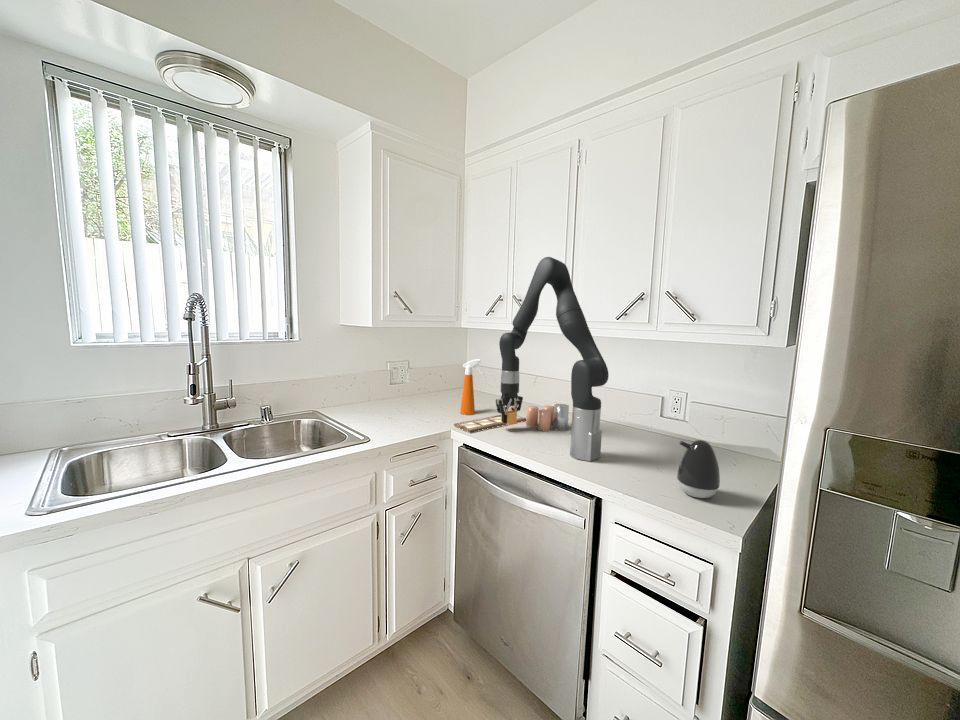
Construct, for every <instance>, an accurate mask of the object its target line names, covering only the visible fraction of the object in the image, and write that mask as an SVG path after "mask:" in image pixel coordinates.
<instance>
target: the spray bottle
mask: <svg viewBox="0 0 960 720" xmlns="http://www.w3.org/2000/svg"><path fill="white" fill-rule="evenodd" d="M481 362H482V359H481V358H478V359H477V358H476V359H475V358H474V359H472V360H469V361H467V362H465V363H464V364H462V367H463V368H465V370H464V375H463V376H464V378H463V384H462V385H463V386H462V393H461V394H462V395H461V402H460V411H459V412H460V414H462V415H464V414H465V416H467V415H468V416H469V415H470V414H472V415H475V413H476V410H475V394H474V391H475V390H474V380H473V377H474V376H473V368H474V369H476V371H477V372H479V373H480V375H482V376H484V373H483V372H482V369H480V366H479V365H480V364H479V363H481ZM470 416H471V415H470Z"/></svg>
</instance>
